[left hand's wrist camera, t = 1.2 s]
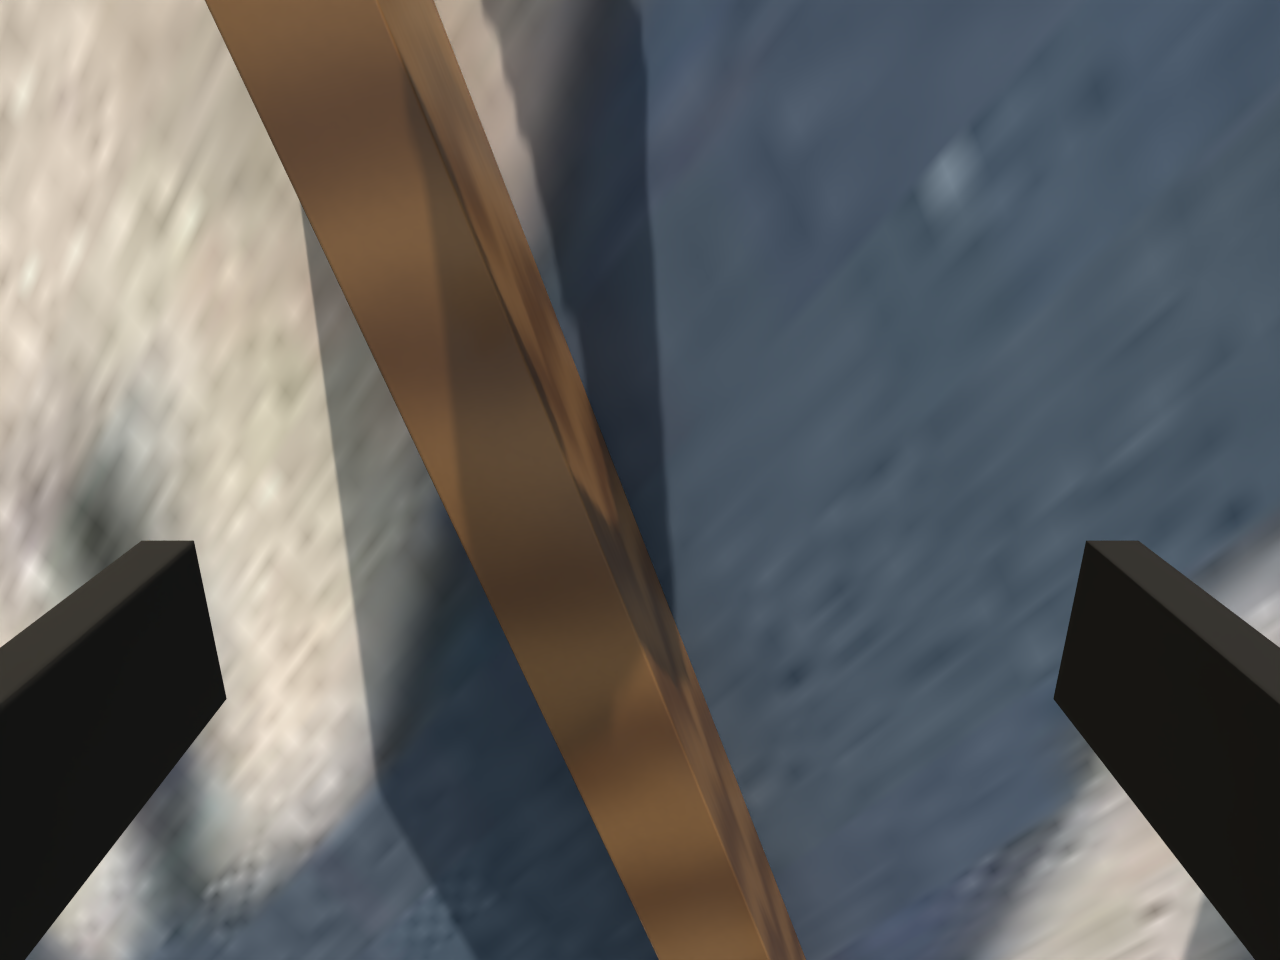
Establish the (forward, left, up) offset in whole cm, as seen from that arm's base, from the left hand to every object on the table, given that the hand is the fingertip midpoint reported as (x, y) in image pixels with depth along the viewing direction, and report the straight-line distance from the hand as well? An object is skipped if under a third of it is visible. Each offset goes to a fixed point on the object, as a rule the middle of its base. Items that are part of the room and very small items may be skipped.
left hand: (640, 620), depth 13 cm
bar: (+13, +13, -20) cm, 27 cm away
